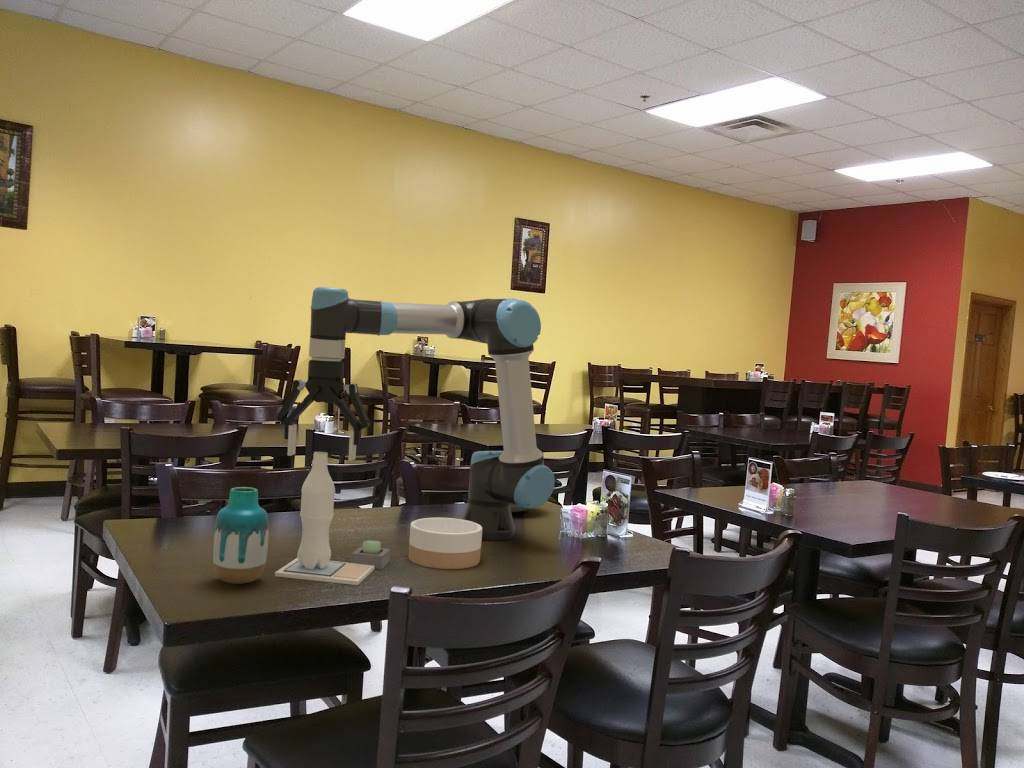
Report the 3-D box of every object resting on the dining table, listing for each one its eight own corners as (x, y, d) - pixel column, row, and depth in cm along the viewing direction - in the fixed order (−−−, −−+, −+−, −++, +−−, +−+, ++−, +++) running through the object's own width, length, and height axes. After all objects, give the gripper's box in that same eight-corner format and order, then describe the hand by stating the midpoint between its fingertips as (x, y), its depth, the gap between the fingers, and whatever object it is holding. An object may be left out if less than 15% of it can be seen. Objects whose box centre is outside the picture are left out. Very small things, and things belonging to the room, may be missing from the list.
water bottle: (334, 563, 185) (341, 452, 184) (324, 572, 178) (331, 456, 177) (303, 560, 186) (310, 449, 184) (291, 569, 178) (298, 453, 177)
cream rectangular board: (374, 569, 187) (375, 564, 187) (357, 585, 174) (357, 580, 174) (297, 560, 189) (297, 556, 189) (274, 576, 176) (275, 571, 176)
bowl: (451, 574, 188) (454, 537, 188) (393, 558, 197) (395, 523, 197) (493, 560, 203) (496, 526, 202) (437, 546, 212) (439, 514, 211)
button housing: (389, 561, 194) (390, 549, 193) (381, 569, 187) (382, 556, 186) (360, 558, 194) (360, 546, 194) (351, 566, 187) (351, 553, 187)
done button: (381, 556, 192) (382, 541, 192) (377, 560, 188) (378, 545, 188) (364, 554, 193) (365, 539, 192) (359, 558, 189) (360, 543, 188)
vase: (218, 573, 175) (224, 483, 174) (270, 576, 176) (275, 486, 175) (204, 588, 164) (210, 492, 163) (259, 591, 165) (265, 495, 164)
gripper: (387, 363, 182) (382, 459, 183) (277, 355, 185) (273, 450, 186) (378, 363, 174) (372, 464, 176) (264, 355, 177) (259, 454, 178)
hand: (321, 457), depth 181 cm, fingers open, 13 cm apart
